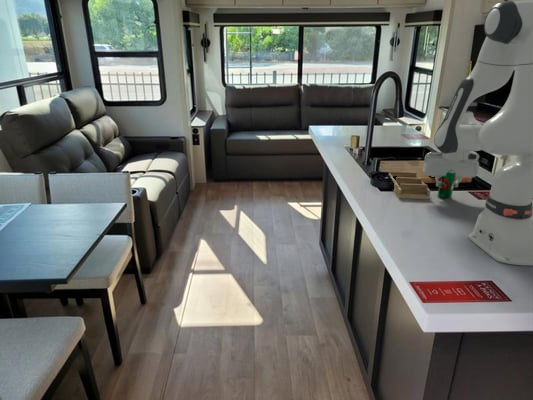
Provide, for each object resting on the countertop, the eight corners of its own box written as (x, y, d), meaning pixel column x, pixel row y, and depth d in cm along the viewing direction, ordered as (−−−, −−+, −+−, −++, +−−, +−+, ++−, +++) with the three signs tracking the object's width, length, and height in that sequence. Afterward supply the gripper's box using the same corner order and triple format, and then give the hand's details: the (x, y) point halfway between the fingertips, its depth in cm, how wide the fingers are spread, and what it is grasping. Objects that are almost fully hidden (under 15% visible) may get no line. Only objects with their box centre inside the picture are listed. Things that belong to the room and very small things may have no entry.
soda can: (452, 199, 153) (458, 171, 148) (438, 198, 154) (444, 170, 149) (449, 195, 157) (455, 167, 153) (436, 194, 158) (441, 166, 154)
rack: (428, 199, 153) (431, 187, 151) (398, 198, 154) (400, 186, 152) (414, 181, 172) (416, 170, 170) (387, 180, 172) (389, 169, 170)
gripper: (428, 154, 146) (422, 188, 151) (483, 155, 145) (475, 190, 150) (423, 149, 152) (417, 182, 157) (476, 151, 150) (469, 184, 156)
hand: (446, 186), depth 154 cm, fingers closed on soda can, 5 cm apart
